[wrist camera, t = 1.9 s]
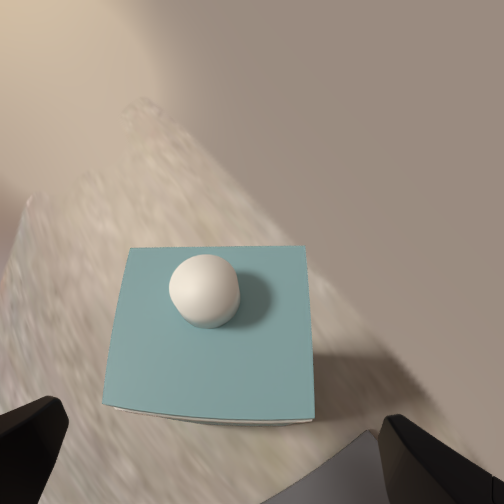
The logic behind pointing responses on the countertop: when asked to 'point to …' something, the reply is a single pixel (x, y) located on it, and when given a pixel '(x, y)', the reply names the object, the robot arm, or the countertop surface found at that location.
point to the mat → (342, 478)
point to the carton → (213, 336)
